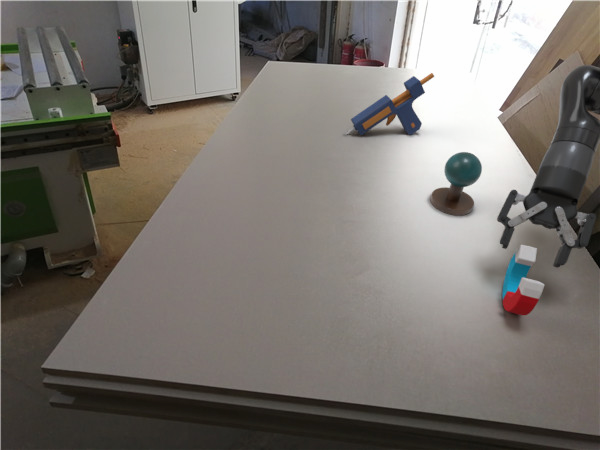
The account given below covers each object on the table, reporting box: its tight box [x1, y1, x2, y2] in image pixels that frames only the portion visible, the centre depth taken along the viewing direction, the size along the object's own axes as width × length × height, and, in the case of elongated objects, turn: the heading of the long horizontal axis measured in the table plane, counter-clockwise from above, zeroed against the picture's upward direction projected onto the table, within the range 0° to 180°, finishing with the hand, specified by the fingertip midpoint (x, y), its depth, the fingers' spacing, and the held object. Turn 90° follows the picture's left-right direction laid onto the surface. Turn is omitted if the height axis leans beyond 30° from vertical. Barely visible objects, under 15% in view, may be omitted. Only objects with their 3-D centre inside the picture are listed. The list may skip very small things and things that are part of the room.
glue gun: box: [345, 72, 435, 136], centre depth 126 cm, size 6×31×15 cm
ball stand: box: [429, 151, 483, 216], centre depth 95 cm, size 10×10×14 cm
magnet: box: [501, 244, 545, 316], centre depth 71 cm, size 12×3×10 cm, turn 161°
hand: (529, 257), depth 71 cm, fingers open, 8 cm apart
